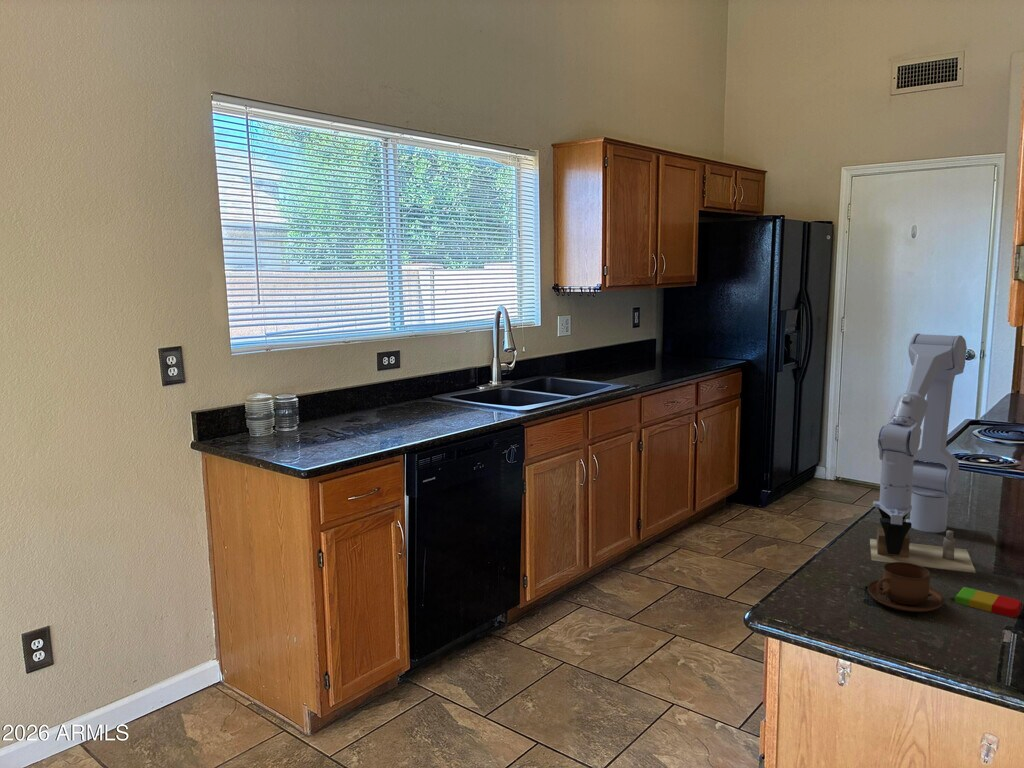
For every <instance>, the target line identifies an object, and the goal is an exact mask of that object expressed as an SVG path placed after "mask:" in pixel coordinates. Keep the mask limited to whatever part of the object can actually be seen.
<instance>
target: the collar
mask: <svg viewBox="0 0 1024 768" xmlns="http://www.w3.org/2000/svg"><path fill="white" fill-rule="evenodd" d="M876 539H877V554H878V555H887V556H895V557H904V558H909V543H911V538H910V534H909V531H908V532H907V534H906V536H905V538H904V541H903V545H902V548H901V551H900V554H899V555H896V554H888V552H887V547H886V539H885V533H884V530H883V528H882V526H877V529H876Z"/></svg>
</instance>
